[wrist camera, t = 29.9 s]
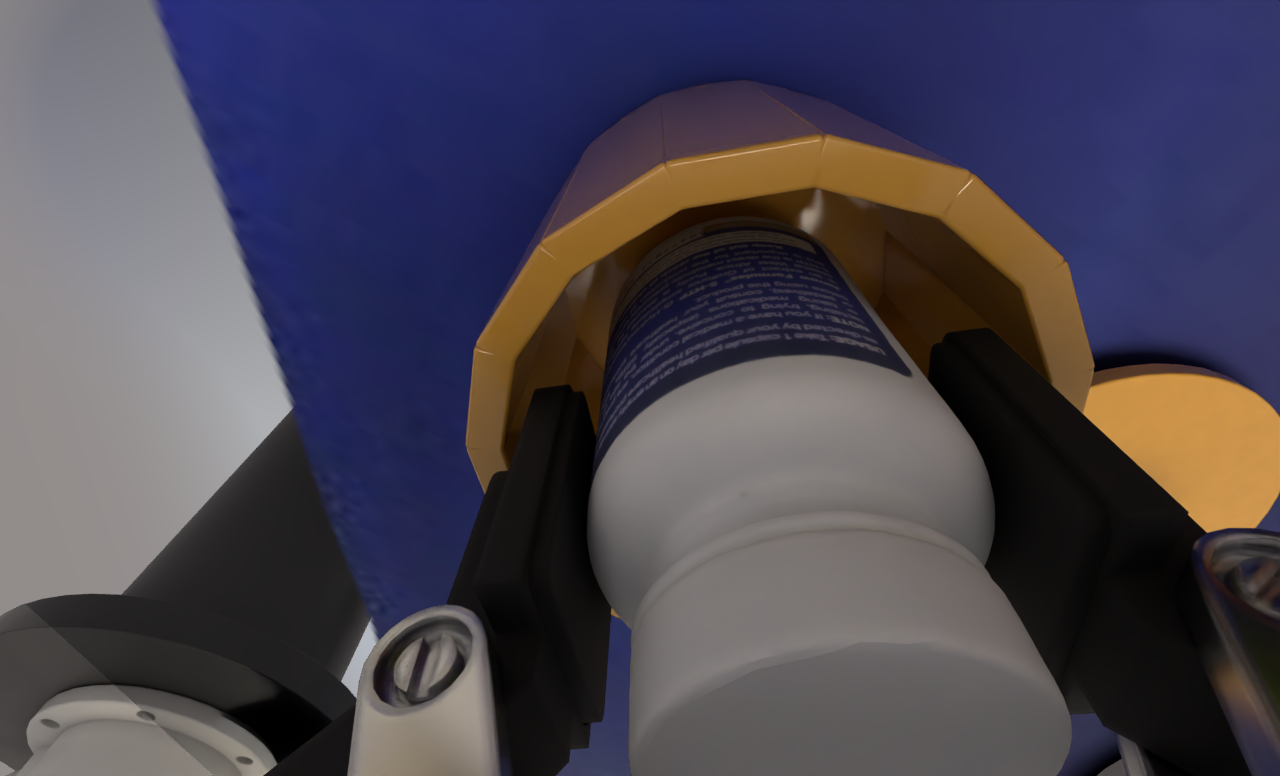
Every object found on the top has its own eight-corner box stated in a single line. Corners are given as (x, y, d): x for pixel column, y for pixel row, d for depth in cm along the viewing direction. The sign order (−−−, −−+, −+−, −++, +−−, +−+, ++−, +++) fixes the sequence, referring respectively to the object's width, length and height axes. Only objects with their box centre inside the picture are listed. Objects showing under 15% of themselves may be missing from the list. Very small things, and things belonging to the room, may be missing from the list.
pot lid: (904, 603, 22) (974, 766, 17) (927, 377, 17) (1035, 520, 12) (1194, 577, 21) (1354, 743, 16) (1313, 327, 16) (1599, 463, 11)
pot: (586, 438, 18) (551, 660, 12) (501, 121, 14) (366, 212, 7) (892, 400, 17) (1028, 620, 11) (915, 44, 13) (1178, 71, 6)
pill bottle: (562, 343, 13) (439, 781, 6) (730, 152, 11) (898, 448, 3) (732, 466, 15) (814, 925, 7) (907, 322, 13) (1275, 766, 5)
